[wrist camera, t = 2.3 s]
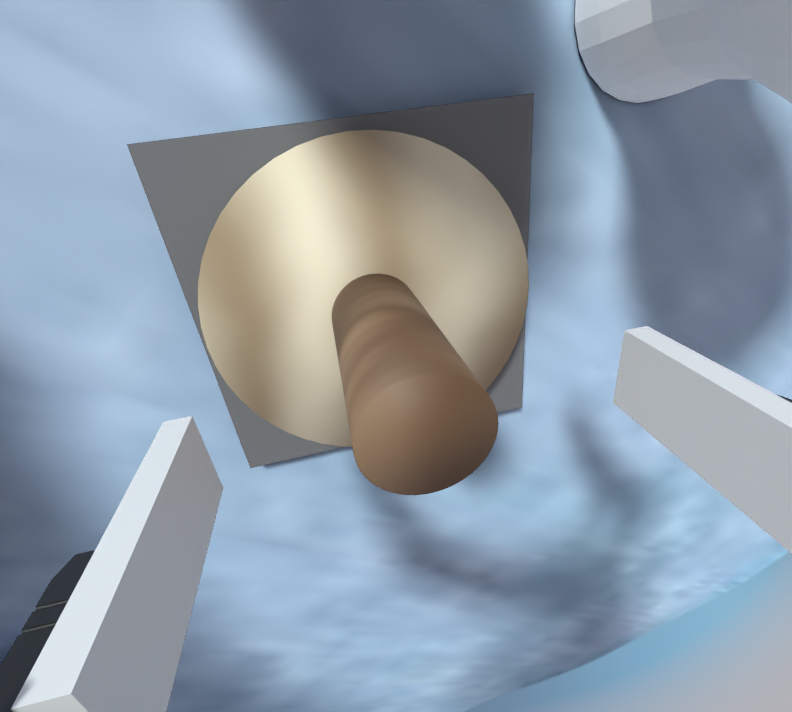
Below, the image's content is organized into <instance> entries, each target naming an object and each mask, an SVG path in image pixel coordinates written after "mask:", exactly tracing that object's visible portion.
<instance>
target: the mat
mask: <svg viewBox="0 0 792 712" xmlns="http://www.w3.org/2000/svg"><path fill="white" fill-rule="evenodd" d="M533 95H534V93H533V94H525V95H517V96H509V97H501V98H493V99H485V100H477V101H469V102H461V103H453V104H445V105H437V106H429V107H421V108H413V109H405V110H398V111H390V112H382V113H374V114H366V115H358V116H350V117H342V118H334V119H326V120H318V121H310V122H302V123H294V124H286V125H278V126H270V127H262V128H254V129H246V130H239V131H231V132H223V133H215V134H207V135H199V136H191V137H183V138H175V139H167V140H159V141H151V142H143V143H135V144H127V146H128V148H129V151H130V153H131V156H132V159H133V161H134V164H135V167H136V169H137V172H138V174H139V177H140V180H141V182H142V185H143V188H144V190H145V193H146V195H147V198H148V201H149V203H150V206H151V209H152V211H153V214H154V216H155V219H156V222H157V224H158V227H159V230H160V232H161V235H162V237H163V240H164V243H165V245H166V248H167V251H168V253H169V256H170V258H171V261H172V264H173V266H174V269H175V272H176V274H177V277H178V279H179V282H180V285H181V287H182V290H183V292H184V295H185V298H186V300H187V303H188V306H189V308H190V311H191V313H192V316H193V319H194V321H195V324H196V327H197V329H198V332H199V334H200V337H201V340H202V342H203V345H204V348H205V350H206V353H207V355H208V358H209V361H210V363H211V366H212V369H213V371H214V374H215V376H216V379H217V382H218V384H219V387H220V390H221V392H222V395H223V397H224V400H225V403H226V405H227V408H228V411H229V413H230V416H231V418H232V421H233V424H234V426H235V429H236V432H237V434H238V437H239V439H240V442H241V445H242V447H243V450H244V453H245V455H246V458H247V460H248V463H249V466H250V468H253V467H257V466H262V465H266V464H271V463H275V462H280V461H284V460H289V459H293V458H298V457H302V456H306V455H311V454H315V453H320V452H324V451H329V450H333V449H338V448H342V447H343V446H334V445H328V444H322V443H318V442H314V441H310V440H306V439H303V438H301V437H298V436H295V435H293V434H290V433H288V432H286V431H284V430H282V429H280V428H278V427H276V426H274V425H272V424H270V423H269V422H268V421H266V420H265V419H263V418H262V417H260V416H259V415H258V414H256V413H255V412H254V411H252V410H251V409H250V408H249V407H248V406H247V405H246V404H245V403H244V402H242V401H241V400H240V399H239V398H238V396H237V395H236V394H235V393H234V392H233V391H232V389H231V388H230V387H229V386H228V385H227V383H226V382H225V380H224V379H223V377H222V376H221V374H220V372H219V371H218V369H217V368H216V366H215V364H214V362H213V359H212V357H211V355H210V353H209V351H208V349H207V346H206V342H205V339H204V335H203V332H202V329H201V323H200V316H199V309H198V280H199V274H200V267H201V261H202V257H203V254H204V251H205V248H206V245H207V241H208V238H209V236H210V234H211V232H212V230H213V228H214V226H215V223H216V221H217V219H218V217H219V215H220V214H221V212H222V211H223V209H224V208H225V207H226V205H227V204H228V202H229V201H230V199H231V198H232V197H233V195H234V194H235V193H236V192H237V190H238V189H239V188H240V187H241V186H242V185H243V184H244V183H245V182H246V181H247V180H248V179H249V178H250V177H251V176H252V175H253V174H254V173H255V172H257V171H258V170H259V169H261V168H262V167H263V166H265V165H266V164H267V163H268V162H270V161H271V160H272V159H274V158H275V157H277V156H279V155H281V154H283V153H285V152H286V151H288V150H290V149H292V148H294V147H295V146H297V145H300V144H303V143H305V142H308V141H311V140H314V139H316V138H319V137H322V136H326V135H331V134H336V133H341V132H346V131H359V130H382V131H393V132H401V133H405V134H409V135H413V136H417V137H420V138H424V139H426V140H429V141H431V142H434V143H436V144H438V145H441V146H443V147H445V148H447V149H449V150H451V151H452V152H454V153H455V154H457V155H459V156H460V157H462V158H464V159H465V160H467V161H468V162H469V163H470V164H471V165H473V166H474V167H475V168H476V169H477V170H479V171H480V172H481V173H482V174H483V175H484V176H485V177H486V178H487V179H488V180H489V181H490V182H491V184H492V185H493V186H494V187H495V188H496V189H497V190H498V192H499V193H500V195H501V196H502V198H503V199H504V201H505V202H506V204H507V205H508V207H509V208H510V210H511V212H512V214H513V217H514V219H515V221H516V223H517V225H518V227H519V230H520V233H521V237H522V240H523V243H524V247H525V251H526V257H527V256H528V229H529V202H530V176H531V149H532V122H533ZM524 336H525V317H524V321H523V325H522V328H521V331H520V334H519V337H518V339H517V342H516V344H515V346H514V348H513V350H512V352H511V354H510V356H509V359H508V360H507V362H506V363H505V365H504V367H503V368H502V370H501V371H500V373H499V374H498V376H497V377H496V378H495V379H494V381H493V382H492V383H491V384H490V386H489V387H488V388H487V389H486V390H485V391H486V392H487V393H488V395H489V396H490V398H491V399H492V401H493V403H494V405H495V408H496V411H497V413H498V412H503V411H507V410H512V409H516V408H521V407H522V390H523V363H524Z"/></svg>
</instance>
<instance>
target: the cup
mask: <svg viewBox="0 0 792 712" xmlns="http://www.w3.org/2000/svg"><path fill="white" fill-rule="evenodd" d="M575 28H576V34H577V40H578V47H579V52H580V54H581V56H582V59H583V61H584V64H585V66H586V68H587V71H588V73H589V75H590V76H591V77H592V78H593V79H594V81H595V82H596V83H597V84H598V85H599V87H600V88H601V89H602V90H603V91H605V92H606V93H608V94H610V95H611V96H613V97H615V98H617V99H618V100H622V101H628V102H635V103H641V102H647V101H652V100H657V99H661V98H664V97H668V96H671V95H675V94H678V93H682V92H684V91H687V90H690V89H693V88H695V87H698V86H701V85H703V84H706V83H709V82H712V81H714V80H717V79H732V80H756V81H758V82H759V83H761V84H763V85H764V86H766V87H767V88H769V89H770V90H772V91H773V92H775V93H776V94H778V95H780V96H781V97H783V98H784V99H786V100H787V101H789V102H790V103H792V0H576V4H575Z"/></svg>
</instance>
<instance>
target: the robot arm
mask: <svg viewBox="0 0 792 712" xmlns="http://www.w3.org/2000/svg"><path fill="white" fill-rule="evenodd" d="M613 403H614V404H615V405H616V406H617V407H619V408H620V409H621V410H622V411H623V412H625V413H626V414H627V415H628V416H629V417H630V418H632V419H633V420H634V421H635V422H636V423H638V424H639V425H640V426H641V427H642V428H643V429H645V430H646V431H647V432H648V433H649V434H651V435H652V436H653V437H654V438H655V439H656V440H658V441H659V442H660V443H661V444H662V445H664V446H665V447H666V448H667V449H668V450H669V451H671V452H672V453H673V454H674V455H675V456H677V457H678V458H679V459H680V460H681V461H682V462H684V463H685V464H686V465H687V466H688V467H690V468H691V469H692V470H693V471H694V472H695V473H697V474H698V475H699V476H700V477H701V478H703V479H704V480H705V481H706V482H707V483H709V484H710V485H711V486H712V487H713V488H714V489H716V490H717V491H718V492H719V493H720V494H722V495H723V496H724V497H725V498H726V499H727V500H729V501H730V502H731V503H732V504H733V505H735V506H736V507H737V508H738V509H739V510H740V511H742V512H743V513H744V514H745V515H746V516H748V517H749V518H750V519H751V520H752V521H753V522H755V523H756V524H757V525H758V526H759V527H761V528H762V529H763V530H764V531H765V532H766V533H768V534H769V535H770V536H771V537H772V538H774V539H775V540H776V541H777V542H778V543H779V544H781V545H782V546H783V547H784V548H785V549H787V550H788V551H789V552H790V553H791V554H792V400H791V399H788V398H785V397H782V396H779V395H776V394H774V393H772V392H770V391H768V390H766V389H764V388H763V387H761V386H759V385H757V384H755V383H753V382H751V381H749V380H748V379H746V378H744V377H742V376H740V375H738V374H736V373H734V372H733V371H731V370H729V369H727V368H725V367H723V366H721V365H719V364H718V363H716V362H714V361H712V360H710V359H708V358H706V357H704V356H703V355H701V354H699V353H697V352H695V351H693V350H691V349H689V348H687V347H686V346H684V345H682V344H680V343H678V342H676V341H674V340H672V339H671V338H669V337H667V336H665V335H663V334H661V333H659V332H657V331H656V330H654V329H652V328H650V327H648V326H644V327H639V328H634V329H629V330H625V332H624V338H623V344H622V351H621V357H620V363H619V369H618V376H617V382H616V388H615V395H614V401H613ZM222 491H223V486H222V484H221V482H220V479H219V477H218V475H217V472H216V470H215V468H214V466H213V463H212V461H211V459H210V456H209V454H208V452H207V449H206V447H205V445H204V442H203V440H202V438H201V435H200V433H199V431H198V428H197V426H196V424H195V422H194V419H193V417H192V416H189V417H184V418H179V419H174V420H169V421H164V422H163V424H162V425H161V427H160V429H159V431H158V433H157V435H156V437H155V439H154V441H153V442H152V444H151V446H150V448H149V450H148V452H147V454H146V456H145V457H144V459H143V461H142V463H141V465H140V467H139V469H138V471H137V472H136V474H135V476H134V478H133V480H132V482H131V484H130V486H129V488H128V489H127V491H126V493H125V495H124V497H123V499H122V501H121V503H120V504H119V506H118V508H117V510H116V512H115V514H114V516H113V518H112V520H111V521H110V523H109V525H108V527H107V529H106V531H105V533H104V535H103V536H102V538H101V540H100V542H99V544H98V546H97V548H96V550H94V551H89V552H85V553H81V554H76V555H75V556H74V557H73V558H72V559H71V560H70V561H69V562H68V563H67V564H66V565H65V566H64V567H63V568H62V570H61V571H60V572H59V573H58V574H57V575H56V576H55V577H54V578H53V579H52V580H51V582H50V584H49V585H48V587H47V589H46V590H45V592H44V594H43V595H42V597H41V599H40V600H39V602H38V604H37V605H36V611H35V612H32V614H31V615H30V617H29V619H28V621H27V622H26V624H25V626H24V627H23V629H22V631H23V633H22V635H19V636H18V637H17V639H16V641H15V642H14V644H13V646H12V647H11V649H10V651H9V652H8V654H7V656H6V657H5V659H4V661H3V663H2V664H1V666H0V712H166V711H167V707H168V703H169V700H170V696H171V692H172V688H173V684H174V680H175V676H176V672H177V668H178V664H179V660H180V656H181V652H182V648H183V644H184V640H185V636H186V633H187V629H188V625H189V621H190V617H191V613H192V609H193V605H194V601H195V597H196V593H197V589H198V585H199V581H200V577H201V573H202V569H203V565H204V562H205V558H206V554H207V550H208V546H209V542H210V538H211V534H212V530H213V526H214V522H215V518H216V514H217V510H218V506H219V502H220V498H221V495H222Z"/></svg>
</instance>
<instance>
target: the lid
mask: <svg viewBox="0 0 792 712" xmlns="http://www.w3.org/2000/svg"><path fill="white" fill-rule="evenodd" d="M528 290H529V281H528V264H527V257H526V251H525V247H524V243H523V240H522V237H521V233H520V230H519V227H518V225H517V223H516V221H515V219H514V217H513V214H512V212H511V210H510V208H509V207H508V205H507V204H506V202H505V201H504V199H503V198H502V196H501V195H500V193H499V192H498V190H497V189H496V188H495V187H494V186H493V185H492V184H491V182H490V181H489V180H488V179H487V178H486V177H485V176H484V175H483V174H482V173H481V172H480V171H479V170H477V169H476V168H475V167H474V166H473V165H471V164H470V163H469V162H468V161H467V160H465V159H464V158H462V157H460V156H459V155H457V154H455V153H454V152H452V151H451V150H449V149H447V148H445V147H443V146H441V145H438V144H436V143H434V142H431V141H429V140H426V139H424V138H420V137H417V136H413V135H409V134H405V133H401V132H393V131H382V130H359V131H346V132H341V133H336V134H331V135H326V136H322V137H319V138H316V139H314V140H311V141H308V142H305V143H303V144H300V145H297V146H295V147H294V148H292V149H290V150H288V151H286V152H285V153H283V154H281V155H279V156H277V157H275V158H274V159H272V160H271V161H270V162H268V163H267V164H266V165H265V166H263V167H262V168H261V169H259V170H258V171H257V172H255V173H254V174H253V175H252V176H251V177H250V178H249V179H248V180H247V181H246V182H245V183H244V184H243V185H242V186H241V187H240V188H239V189H238V190H237V192H236V193H235V194H234V195H233V197H232V198H231V199H230V201H229V202H228V204H227V205H226V207H225V208H224V209H223V211H222V212H221V214H220V215H219V217H218V219H217V221H216V223H215V226H214V228H213V230H212V232H211V234H210V236H209V238H208V241H207V245H206V248H205V251H204V254H203V257H202V261H201V267H200V274H199V280H198V309H199V316H200V323H201V329H202V332H203V335H204V339H205V342H206V346H207V349H208V351H209V353H210V355H211V357H212V359H213V362H214V364H215V366H216V368H217V369H218V371H219V372H220V374H221V376H222V377H223V379H224V380H225V382H226V383H227V385H228V386H229V387H230V388H231V389H232V391H233V392H234V393H235V394H236V395H237V396H238V398H239V399H240V400H241V401H242V402H244V403H245V404H246V405H247V406H248V407H249V408H250V409H251V410H252V411H254V412H255V413H256V414H258V415H259V416H260V417H262V418H263V419H265V420H266V421H268V422H269V423H270V424H272V425H274V426H276V427H278V428H280V429H282V430H284V431H286V432H288V433H290V434H293V435H295V436H298V437H301V438H303V439H306V440H310V441H314V442H318V443H322V444H328V445H334V446H343V447H353V452H354V457H355V460H356V463H357V465H358V467H359V469H360V471H361V472H362V474H363V475H364V476H365V477H366V478H367V479H368V480H369V481H370V482H371V483H373V484H374V485H376V486H377V487H379V488H381V489H383V490H386V491H389V492H392V493H397V494H403V495H421V494H428V493H433V492H436V491H440V490H443V489H445V488H448V487H450V486H452V485H454V484H456V483H458V482H460V481H461V480H463V479H464V478H466V477H467V476H469V475H470V474H471V473H472V472H473V471H475V470H476V469H477V468H478V467H479V466H480V464H481V463H482V462H483V461H484V460H485V458H486V457H487V455H488V454H489V452H490V450H491V449H492V447H493V444H494V442H495V439H496V435H497V431H498V415H497V411H496V408H495V405H494V403H493V401H492V399H491V398H490V396H489V395H488V393H487V392H486V391H485V390H486V389H487V388H488V387H489V386H490V384H491V383H492V382H493V381H494V379H495V378H496V377H497V376H498V374H499V373H500V371H501V370H502V368H503V367H504V365H505V363H506V362H507V360H508V359H509V356H510V354H511V352H512V350H513V348H514V346H515V344H516V342H517V339H518V337H519V334H520V331H521V328H522V325H523V321H524V317H525V312H526V308H527V299H528Z"/></svg>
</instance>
